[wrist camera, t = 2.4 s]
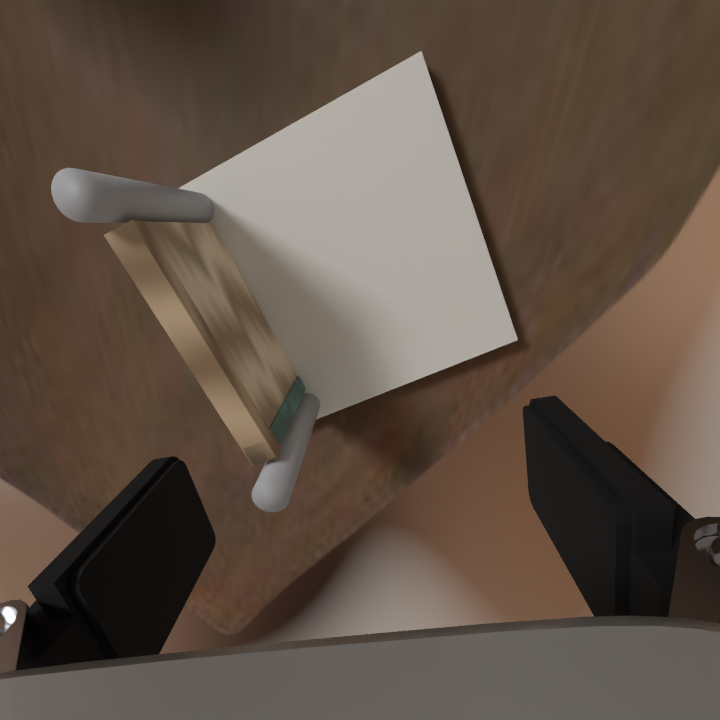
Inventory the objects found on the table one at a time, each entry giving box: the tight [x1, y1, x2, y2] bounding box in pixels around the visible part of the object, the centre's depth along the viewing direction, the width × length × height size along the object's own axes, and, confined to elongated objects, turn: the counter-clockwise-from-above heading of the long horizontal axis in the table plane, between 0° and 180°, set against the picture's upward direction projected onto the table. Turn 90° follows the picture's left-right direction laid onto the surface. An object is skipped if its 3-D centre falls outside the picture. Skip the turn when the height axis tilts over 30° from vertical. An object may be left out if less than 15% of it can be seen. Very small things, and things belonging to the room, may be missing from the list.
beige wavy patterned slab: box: [104, 220, 306, 466], centre depth 27 cm, size 16×2×11 cm, turn 25°
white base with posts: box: [51, 51, 518, 512], centre depth 26 cm, size 23×26×14 cm
